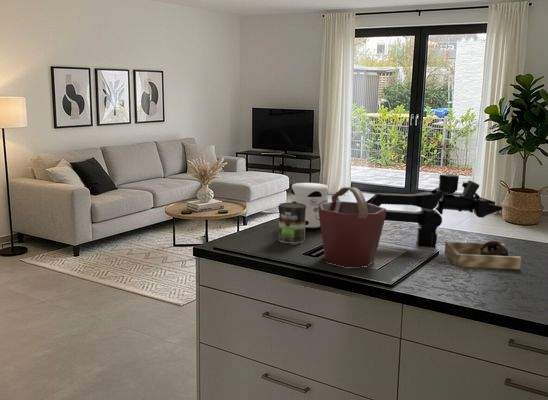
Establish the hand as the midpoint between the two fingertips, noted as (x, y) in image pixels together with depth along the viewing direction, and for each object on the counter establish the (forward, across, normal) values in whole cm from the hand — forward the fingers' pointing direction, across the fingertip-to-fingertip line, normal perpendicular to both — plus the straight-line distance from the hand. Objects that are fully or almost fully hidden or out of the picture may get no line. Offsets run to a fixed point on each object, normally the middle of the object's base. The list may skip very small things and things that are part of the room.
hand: (498, 205), depth 204 cm
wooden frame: (-8, -17, +17) cm, 25 cm away
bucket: (-54, -26, +18) cm, 63 cm away
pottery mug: (-4, -17, +17) cm, 24 cm away
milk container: (-70, +21, +20) cm, 76 cm away
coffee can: (-76, -4, +19) cm, 78 cm away
